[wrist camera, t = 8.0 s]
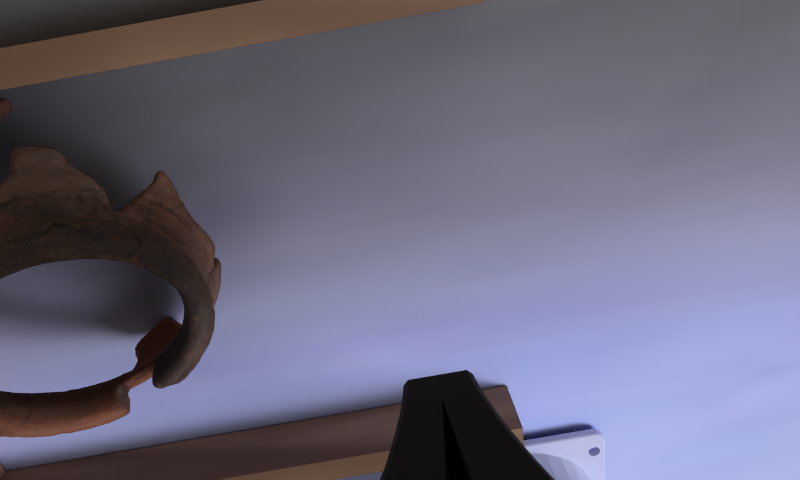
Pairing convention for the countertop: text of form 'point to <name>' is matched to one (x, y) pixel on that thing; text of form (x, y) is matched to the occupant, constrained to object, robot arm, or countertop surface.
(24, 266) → the brown jagged ring
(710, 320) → the countertop surface
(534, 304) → the countertop surface
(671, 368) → the countertop surface
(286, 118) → the countertop surface
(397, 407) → the wooden bracket
